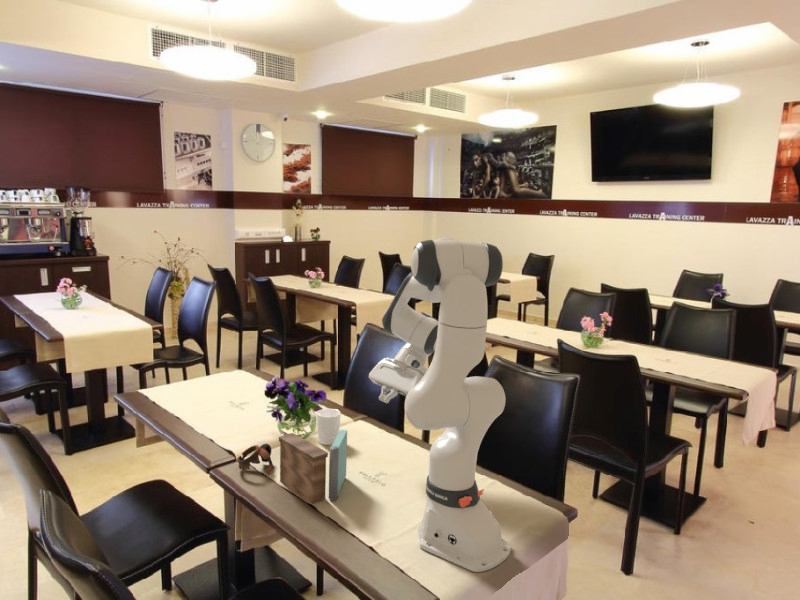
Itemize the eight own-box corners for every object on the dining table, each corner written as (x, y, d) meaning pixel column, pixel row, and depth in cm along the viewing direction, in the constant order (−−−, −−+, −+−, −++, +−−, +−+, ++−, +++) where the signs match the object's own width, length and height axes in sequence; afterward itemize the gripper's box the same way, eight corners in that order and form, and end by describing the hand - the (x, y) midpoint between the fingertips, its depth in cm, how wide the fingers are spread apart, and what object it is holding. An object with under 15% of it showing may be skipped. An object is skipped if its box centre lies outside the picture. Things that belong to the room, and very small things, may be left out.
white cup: (335, 447, 181) (336, 418, 179) (312, 444, 183) (313, 415, 181) (342, 437, 189) (343, 409, 187) (320, 435, 190) (321, 407, 189)
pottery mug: (268, 481, 158) (253, 458, 156) (243, 488, 162) (228, 467, 160) (285, 454, 169) (271, 432, 167) (261, 461, 172) (247, 441, 170)
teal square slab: (336, 500, 148) (337, 450, 145) (327, 499, 148) (328, 449, 146) (346, 475, 161) (347, 430, 159) (338, 475, 161) (339, 429, 159)
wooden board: (326, 498, 149) (327, 452, 147) (312, 504, 146) (313, 457, 144) (292, 476, 161) (292, 433, 159) (278, 480, 157) (278, 437, 155)
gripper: (379, 350, 176) (355, 386, 171) (426, 366, 162) (401, 405, 157) (389, 361, 180) (365, 396, 175) (436, 378, 165) (411, 416, 160)
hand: (382, 401), depth 166 cm, fingers closed
